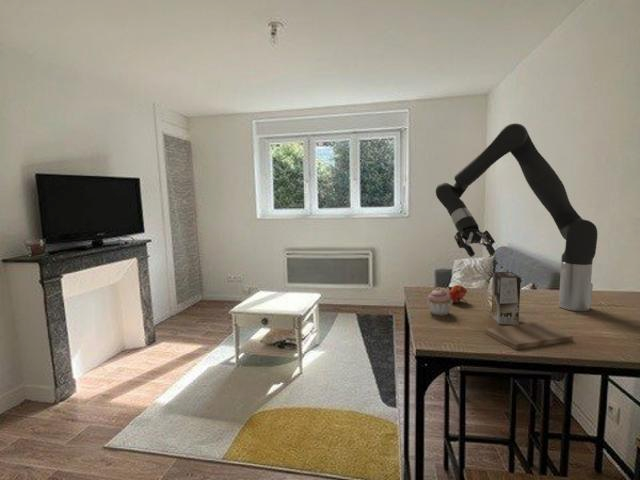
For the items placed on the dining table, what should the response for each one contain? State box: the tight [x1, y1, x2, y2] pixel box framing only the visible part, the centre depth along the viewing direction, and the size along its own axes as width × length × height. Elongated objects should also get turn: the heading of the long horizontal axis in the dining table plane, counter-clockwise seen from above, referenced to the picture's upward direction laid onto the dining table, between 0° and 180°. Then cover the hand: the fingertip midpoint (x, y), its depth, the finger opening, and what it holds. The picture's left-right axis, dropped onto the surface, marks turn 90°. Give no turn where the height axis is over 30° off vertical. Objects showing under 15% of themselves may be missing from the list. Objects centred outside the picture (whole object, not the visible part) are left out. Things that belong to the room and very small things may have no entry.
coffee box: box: [491, 271, 522, 326], centre depth 119 cm, size 9×6×16 cm
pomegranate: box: [446, 284, 468, 304], centre depth 140 cm, size 7×7×10 cm
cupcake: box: [426, 286, 454, 317], centre depth 128 cm, size 9×9×10 cm
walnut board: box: [485, 321, 574, 351], centre depth 106 cm, size 20×12×2 cm, turn 104°
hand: (483, 254), depth 129 cm, fingers open, 8 cm apart
